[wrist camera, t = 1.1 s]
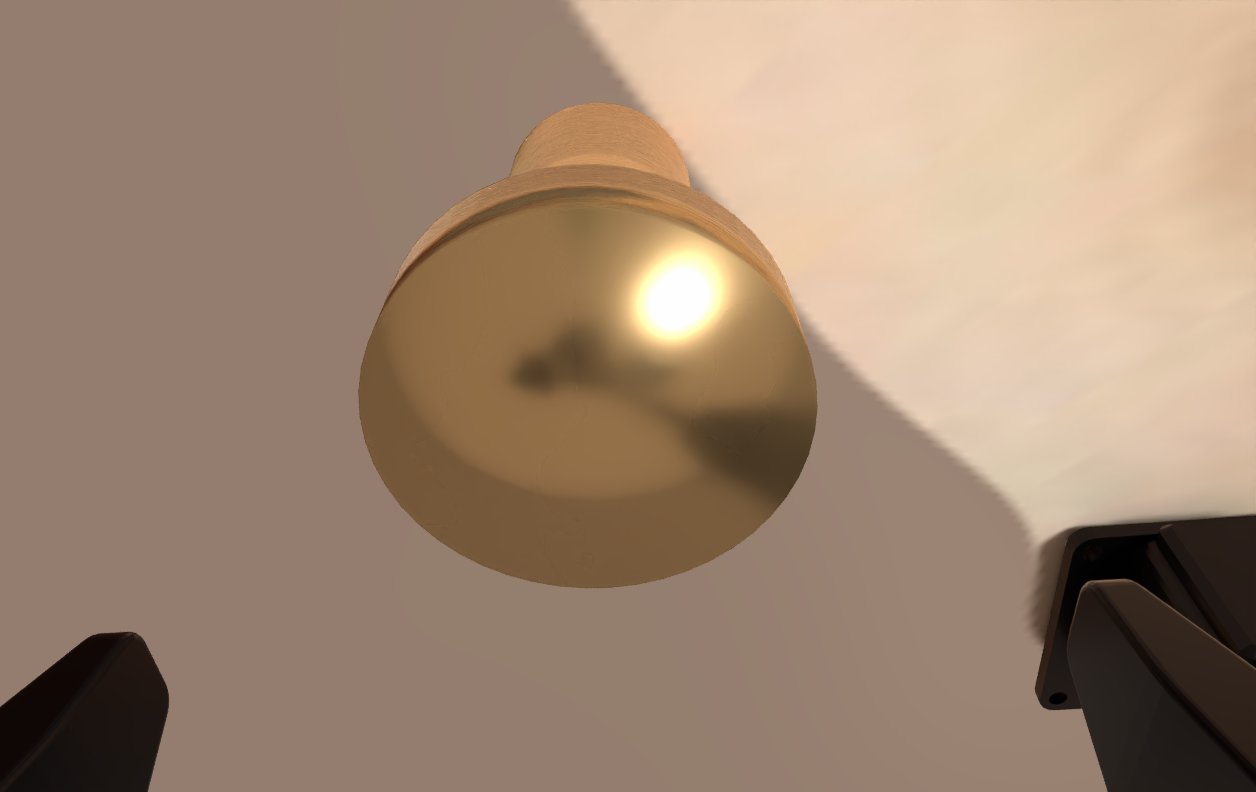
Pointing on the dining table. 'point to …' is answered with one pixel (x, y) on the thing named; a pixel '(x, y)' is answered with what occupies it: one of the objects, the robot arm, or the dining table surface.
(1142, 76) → the dining table surface
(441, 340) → the door knob
